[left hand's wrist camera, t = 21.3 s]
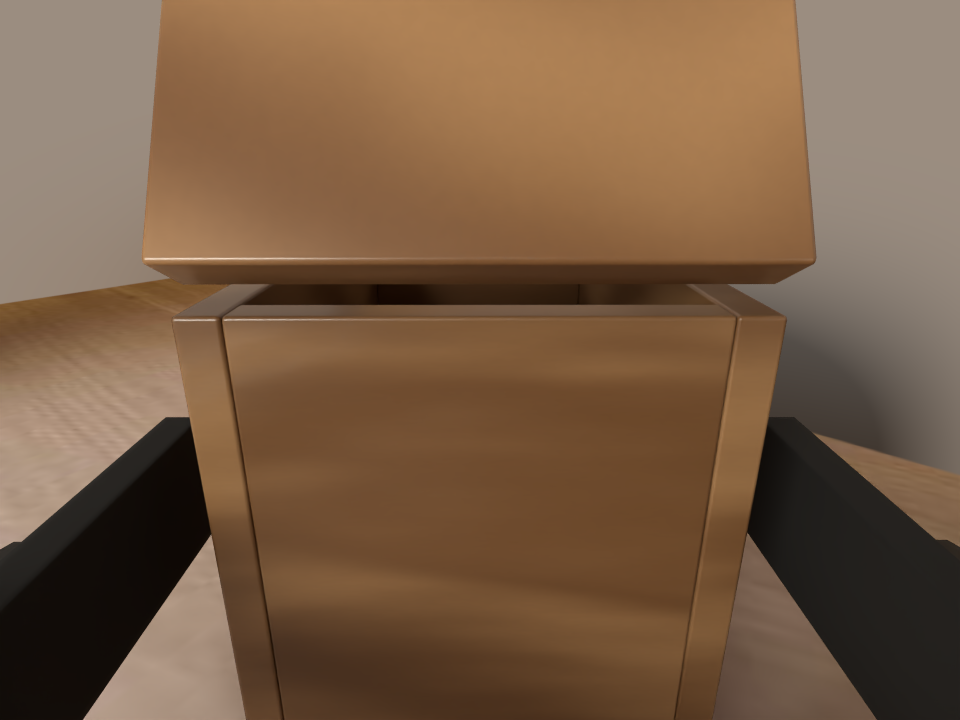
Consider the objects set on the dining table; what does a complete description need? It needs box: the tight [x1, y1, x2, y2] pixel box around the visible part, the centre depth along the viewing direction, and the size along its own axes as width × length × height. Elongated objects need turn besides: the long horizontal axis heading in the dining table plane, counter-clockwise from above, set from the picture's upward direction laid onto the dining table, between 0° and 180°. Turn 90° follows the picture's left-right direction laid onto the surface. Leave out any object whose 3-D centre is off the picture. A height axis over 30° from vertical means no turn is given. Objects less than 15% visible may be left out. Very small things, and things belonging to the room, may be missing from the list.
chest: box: [172, 284, 787, 720], centre depth 17 cm, size 14×9×10 cm, turn 0°
